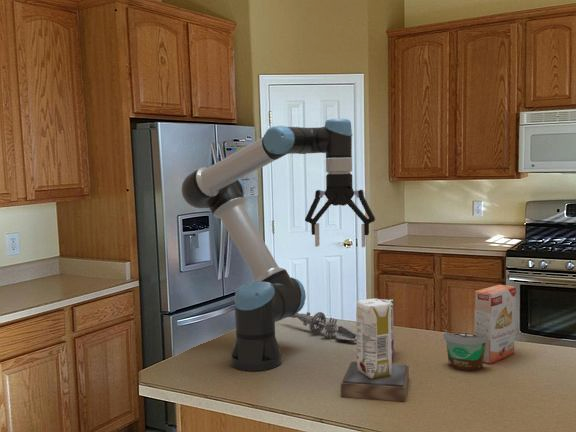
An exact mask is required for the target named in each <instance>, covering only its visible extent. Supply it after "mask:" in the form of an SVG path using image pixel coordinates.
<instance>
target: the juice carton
mask: <svg viewBox="0 0 576 432" xmlns="http://www.w3.org/2000/svg"><path fill="white" fill-rule="evenodd" d="M379 299H380V298H367V299H361V300H359V299H358V300H356V309H355V310H356V335H357V337H356V340H357V341H356V362H357V366H358V371H359V372H361V373H363V374H365V375H366V376H368V377H369V378H371V379H372V378H378V377H383V376H389V375H391V369H392V364H393V363H392V324H391V304H390V303H387V302H382V301H381V300H379Z"/></svg>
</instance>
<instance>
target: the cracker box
mask: <svg viewBox="0 0 576 432" xmlns="http://www.w3.org/2000/svg"><path fill="white" fill-rule="evenodd" d="M516 294H517V287H516V286H513V285H505V284H496V285H494V286H489V287H486V288H485V287H484V288H482V289H478V290H475V291H474V328H473V329H474V330H473V331H474V332H473V335H479V336H482V335H485V334H486V335H487V336H488V341H487V342H486V343H485V350H484V359H483V363H486V364H490V365H491V364H493V363H495V362H497V361H501V360H503V359H504V358H506V357H510V356H511V355H512V356H513V355H514V354H515V335H516V334H515V333H516V332H515V331H516V299H517V298H516V297H517V295H516Z"/></svg>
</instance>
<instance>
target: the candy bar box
mask: <svg viewBox="0 0 576 432" xmlns="http://www.w3.org/2000/svg"><path fill="white" fill-rule="evenodd" d="M378 299H379V300H381V301H382V302H387V303H390V304H391V324H392V362H393V361H394V354H395V342H394V339H395V337H394V333H395V332H394V299H381V298H378Z"/></svg>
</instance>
